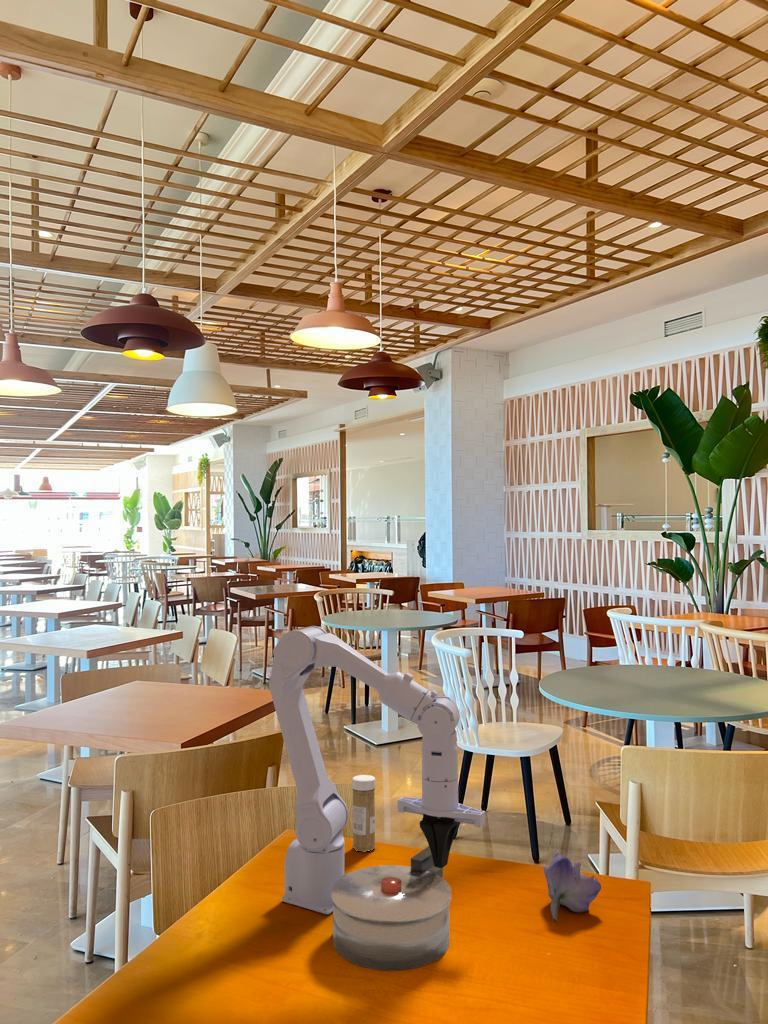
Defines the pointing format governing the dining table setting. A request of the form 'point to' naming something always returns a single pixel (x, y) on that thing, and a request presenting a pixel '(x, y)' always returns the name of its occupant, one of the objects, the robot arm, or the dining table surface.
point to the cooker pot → (391, 940)
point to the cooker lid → (393, 892)
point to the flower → (569, 885)
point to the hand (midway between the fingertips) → (440, 865)
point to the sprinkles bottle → (363, 812)
